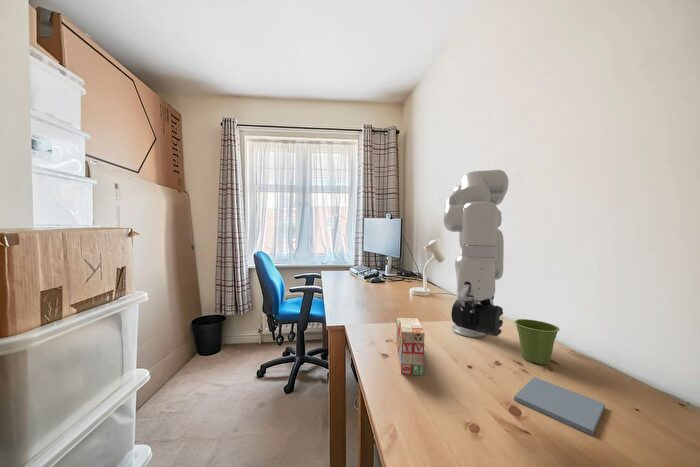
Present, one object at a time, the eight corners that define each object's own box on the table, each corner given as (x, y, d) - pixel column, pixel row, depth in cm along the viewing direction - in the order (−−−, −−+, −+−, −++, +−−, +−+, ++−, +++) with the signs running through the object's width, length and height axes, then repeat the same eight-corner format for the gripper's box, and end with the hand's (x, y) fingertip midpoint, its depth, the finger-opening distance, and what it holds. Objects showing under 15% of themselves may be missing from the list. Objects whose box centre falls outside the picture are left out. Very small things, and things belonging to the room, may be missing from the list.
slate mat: (534, 380, 72) (534, 377, 72) (604, 407, 61) (604, 403, 61) (514, 400, 63) (514, 395, 63) (592, 435, 52) (592, 430, 52)
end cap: (450, 328, 65) (451, 301, 65) (462, 322, 70) (463, 296, 70) (494, 341, 58) (495, 310, 58) (504, 333, 63) (505, 304, 63)
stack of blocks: (396, 343, 95) (396, 309, 95) (413, 344, 94) (414, 310, 95) (401, 374, 74) (401, 330, 74) (423, 376, 73) (424, 332, 73)
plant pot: (565, 363, 82) (566, 327, 82) (548, 372, 76) (548, 334, 76) (524, 348, 93) (525, 316, 93) (506, 356, 86) (507, 321, 86)
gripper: (480, 250, 73) (479, 314, 73) (444, 252, 62) (443, 327, 62) (510, 252, 67) (508, 322, 67) (476, 255, 56) (474, 338, 56)
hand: (477, 324), depth 64 cm, fingers closed on end cap, 7 cm apart
